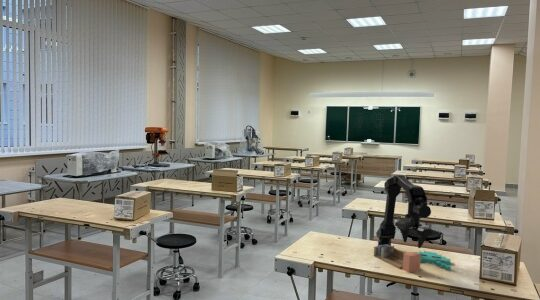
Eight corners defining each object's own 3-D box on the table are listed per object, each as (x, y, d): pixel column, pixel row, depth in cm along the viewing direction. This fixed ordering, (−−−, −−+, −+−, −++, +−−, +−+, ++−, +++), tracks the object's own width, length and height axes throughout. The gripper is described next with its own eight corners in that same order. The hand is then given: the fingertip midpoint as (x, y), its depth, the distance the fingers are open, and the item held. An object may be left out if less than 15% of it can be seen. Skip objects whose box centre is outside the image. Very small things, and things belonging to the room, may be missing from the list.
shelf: (387, 254, 209) (387, 242, 208) (413, 266, 191) (414, 253, 191) (373, 255, 205) (374, 243, 204) (399, 268, 188) (400, 255, 187)
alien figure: (450, 271, 188) (450, 259, 206) (450, 267, 188) (450, 255, 206) (406, 264, 196) (410, 252, 214) (406, 259, 196) (410, 248, 214)
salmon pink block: (413, 267, 190) (414, 251, 190) (419, 270, 186) (420, 254, 186) (402, 269, 187) (403, 253, 187) (408, 272, 184) (409, 255, 183)
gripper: (387, 209, 190) (385, 240, 191) (415, 218, 173) (413, 252, 174) (404, 208, 195) (403, 239, 196) (434, 216, 178) (432, 250, 179)
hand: (412, 245), depth 186 cm, fingers open, 9 cm apart
